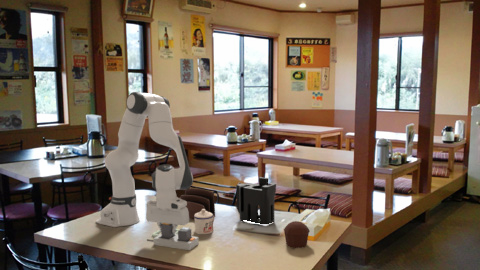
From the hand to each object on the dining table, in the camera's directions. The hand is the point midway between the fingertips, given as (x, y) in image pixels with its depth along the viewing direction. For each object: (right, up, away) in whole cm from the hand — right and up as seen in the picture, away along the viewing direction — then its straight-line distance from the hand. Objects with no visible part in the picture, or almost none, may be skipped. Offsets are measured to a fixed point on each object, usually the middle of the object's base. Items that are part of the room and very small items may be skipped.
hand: (167, 232), depth 193 cm
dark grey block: (+8, -5, -3) cm, 10 cm away
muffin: (+57, -5, -2) cm, 57 cm away
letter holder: (+8, -1, +43) cm, 44 cm away
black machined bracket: (+40, -1, +32) cm, 52 cm away
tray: (-2, -4, +12) cm, 13 cm away
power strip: (+1, -6, 0) cm, 6 cm away
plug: (0, -3, 0) cm, 3 cm away
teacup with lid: (+16, -4, +17) cm, 23 cm away
